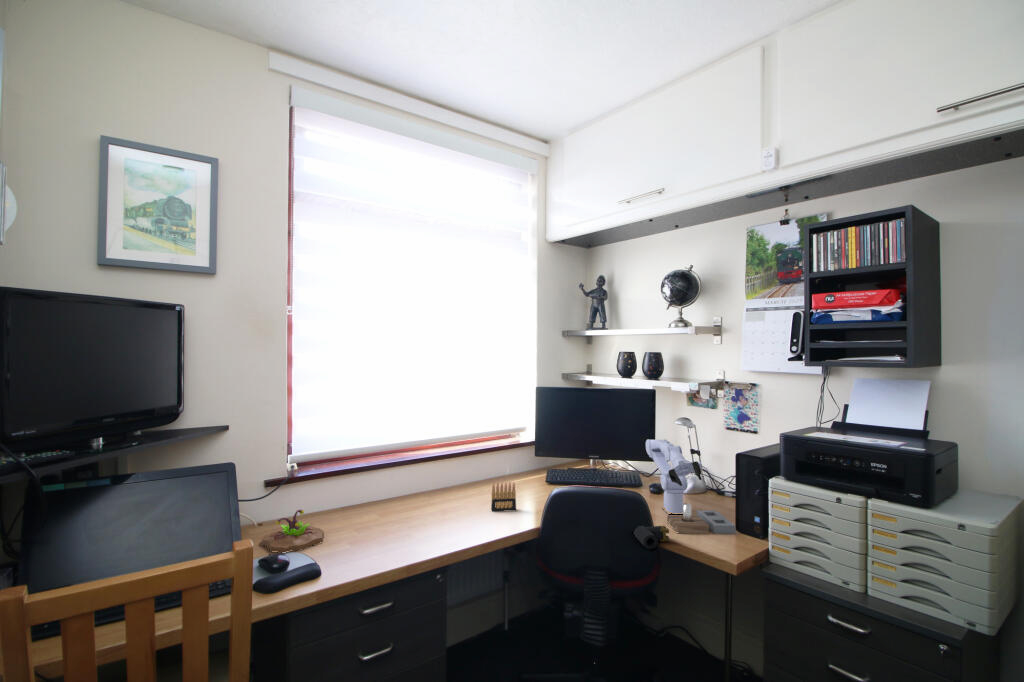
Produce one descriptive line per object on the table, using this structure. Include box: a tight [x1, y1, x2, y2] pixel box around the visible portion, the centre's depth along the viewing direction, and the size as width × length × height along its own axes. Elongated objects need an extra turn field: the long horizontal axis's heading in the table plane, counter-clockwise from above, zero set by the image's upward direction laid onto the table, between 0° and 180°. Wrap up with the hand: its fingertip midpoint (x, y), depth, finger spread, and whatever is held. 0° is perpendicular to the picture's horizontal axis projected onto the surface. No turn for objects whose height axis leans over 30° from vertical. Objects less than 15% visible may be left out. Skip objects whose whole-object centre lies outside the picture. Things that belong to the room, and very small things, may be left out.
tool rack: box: [696, 509, 737, 535], centre depth 195 cm, size 18×8×3 cm, turn 0°
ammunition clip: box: [490, 481, 517, 512], centre depth 214 cm, size 11×2×12 cm, turn 98°
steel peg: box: [683, 502, 692, 522], centre depth 192 cm, size 3×3×9 cm
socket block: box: [666, 514, 710, 534], centre depth 192 cm, size 12×12×3 cm
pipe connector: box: [633, 525, 670, 550], centre depth 179 cm, size 12×5×15 cm
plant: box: [261, 509, 325, 552], centre depth 178 cm, size 20×20×11 cm
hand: (690, 480), depth 191 cm, fingers open, 7 cm apart
